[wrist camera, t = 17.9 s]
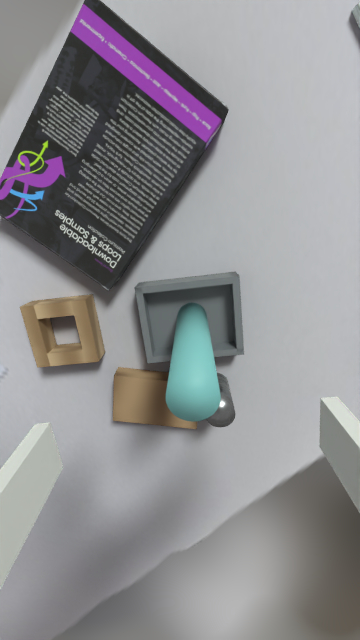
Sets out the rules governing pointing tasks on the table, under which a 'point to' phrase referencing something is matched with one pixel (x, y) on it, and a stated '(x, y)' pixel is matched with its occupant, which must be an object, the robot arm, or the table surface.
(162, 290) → the tray
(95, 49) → the box
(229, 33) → the table surface
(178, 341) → the dowel
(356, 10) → the hard drive
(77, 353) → the socket block
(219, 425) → the bench dog
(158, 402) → the tan block
